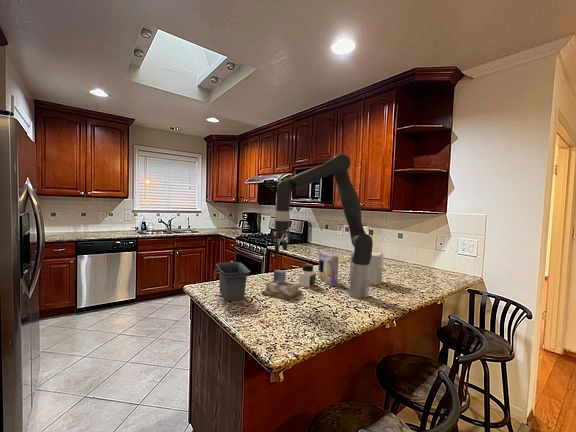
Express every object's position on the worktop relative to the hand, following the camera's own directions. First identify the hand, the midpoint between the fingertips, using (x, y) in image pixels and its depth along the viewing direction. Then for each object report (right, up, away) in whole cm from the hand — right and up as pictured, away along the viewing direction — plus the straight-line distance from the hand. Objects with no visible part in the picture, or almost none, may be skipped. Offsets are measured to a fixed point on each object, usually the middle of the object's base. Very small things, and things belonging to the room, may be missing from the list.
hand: (280, 251), depth 152 cm
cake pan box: (+27, -22, +27) cm, 44 cm away
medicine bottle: (+15, -22, +18) cm, 32 cm away
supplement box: (+53, -23, +34) cm, 66 cm away
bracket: (+1, -21, 0) cm, 20 cm away
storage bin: (-25, -21, -7) cm, 34 cm away
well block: (+1, -22, 0) cm, 22 cm away
